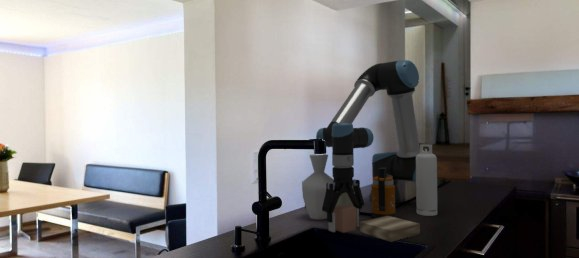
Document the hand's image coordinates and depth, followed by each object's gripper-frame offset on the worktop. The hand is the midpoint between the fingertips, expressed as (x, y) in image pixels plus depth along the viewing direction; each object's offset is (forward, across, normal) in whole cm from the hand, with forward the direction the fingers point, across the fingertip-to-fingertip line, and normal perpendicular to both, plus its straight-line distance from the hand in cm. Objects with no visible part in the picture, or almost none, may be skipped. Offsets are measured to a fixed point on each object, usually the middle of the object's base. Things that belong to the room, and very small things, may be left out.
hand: (344, 228), depth 140 cm
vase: (0, +4, +19) cm, 19 cm away
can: (0, +22, +25) cm, 33 cm away
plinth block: (+1, +9, -13) cm, 16 cm away
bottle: (0, +42, -3) cm, 42 cm away
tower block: (0, 0, 0) cm, 0 cm away
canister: (0, +22, +2) cm, 22 cm away
